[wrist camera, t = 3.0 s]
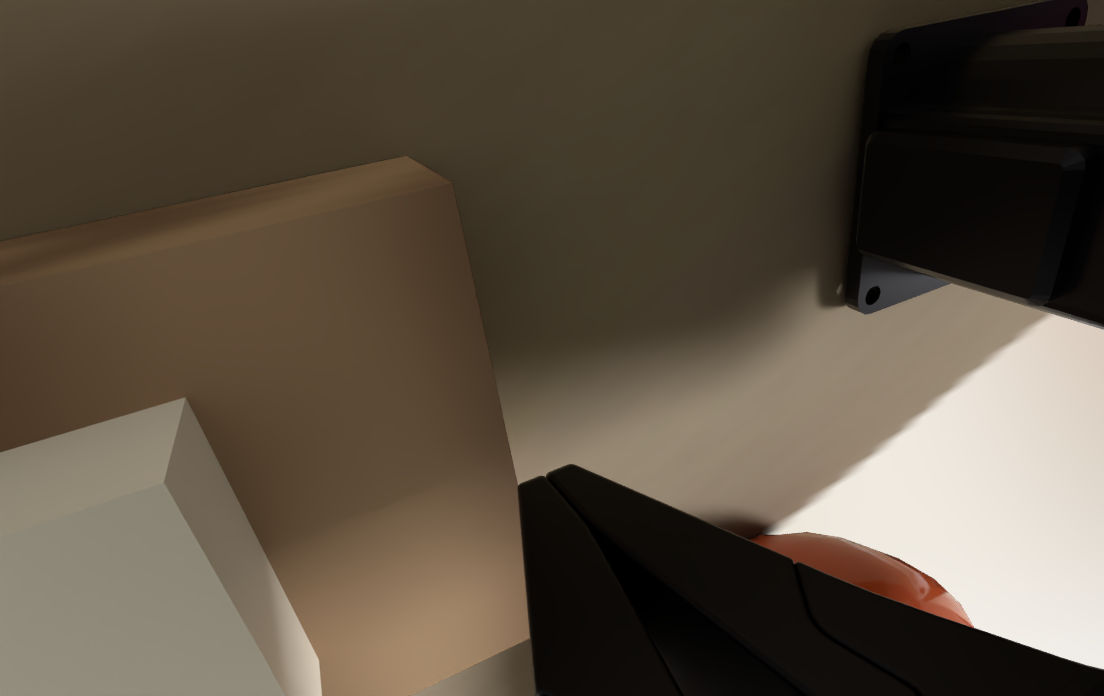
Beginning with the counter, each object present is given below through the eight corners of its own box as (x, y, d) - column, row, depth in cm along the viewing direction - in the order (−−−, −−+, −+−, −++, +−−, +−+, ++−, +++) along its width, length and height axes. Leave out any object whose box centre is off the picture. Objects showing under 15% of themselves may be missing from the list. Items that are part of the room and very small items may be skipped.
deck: (406, 155, 10) (452, 183, 7) (498, 529, 14) (548, 628, 11) (-546, 356, 7) (-1026, 520, 4) (-75, 768, 11) (-180, 980, 8)
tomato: (762, 447, 17) (1092, 696, 10) (869, 531, 21) (1154, 747, 14) (599, 647, 17) (809, 1011, 11) (734, 690, 21) (947, 973, 15)
